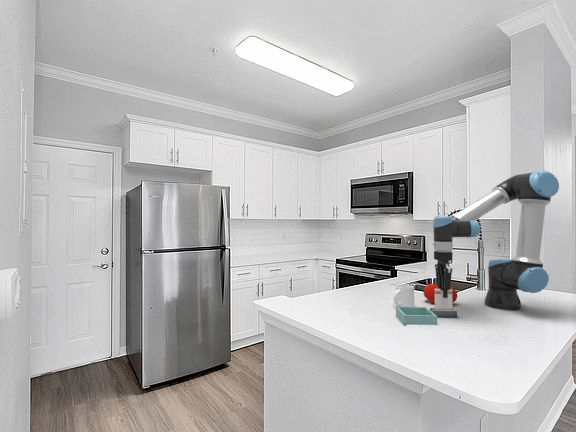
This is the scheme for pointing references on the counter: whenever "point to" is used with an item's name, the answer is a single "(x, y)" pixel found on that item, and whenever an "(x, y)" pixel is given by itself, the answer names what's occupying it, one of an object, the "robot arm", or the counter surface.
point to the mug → (404, 296)
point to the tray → (416, 315)
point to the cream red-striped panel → (438, 300)
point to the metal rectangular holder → (445, 313)
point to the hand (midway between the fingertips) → (443, 304)
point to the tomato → (430, 292)
